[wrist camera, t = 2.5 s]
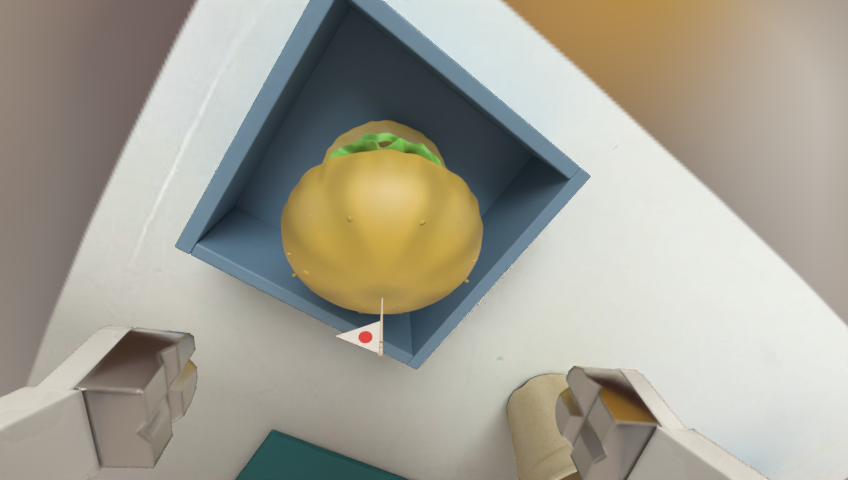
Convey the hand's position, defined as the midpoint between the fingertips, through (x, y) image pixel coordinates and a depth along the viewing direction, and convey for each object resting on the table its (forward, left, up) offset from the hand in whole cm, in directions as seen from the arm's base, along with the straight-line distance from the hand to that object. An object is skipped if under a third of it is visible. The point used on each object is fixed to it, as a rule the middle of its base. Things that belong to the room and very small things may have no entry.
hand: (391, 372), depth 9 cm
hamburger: (0, 0, -15) cm, 15 cm away
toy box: (0, 0, -16) cm, 16 cm away
